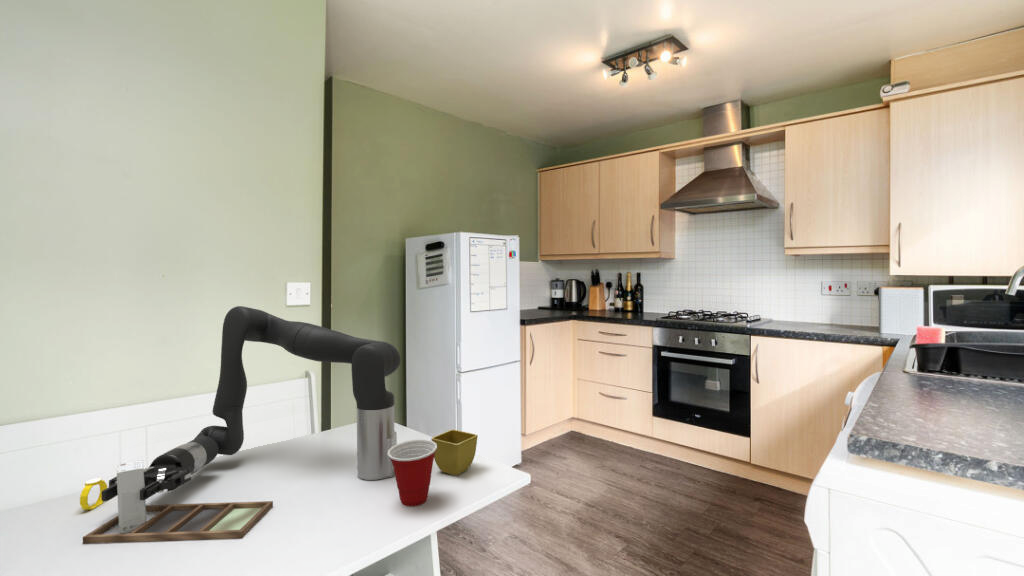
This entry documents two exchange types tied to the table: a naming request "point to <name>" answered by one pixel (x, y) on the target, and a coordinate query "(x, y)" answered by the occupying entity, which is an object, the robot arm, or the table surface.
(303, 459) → the table surface
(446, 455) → the flower pot
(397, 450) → the plastic cup
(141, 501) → the skincare box
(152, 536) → the divided wooden frame
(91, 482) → the watch
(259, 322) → the robot arm
